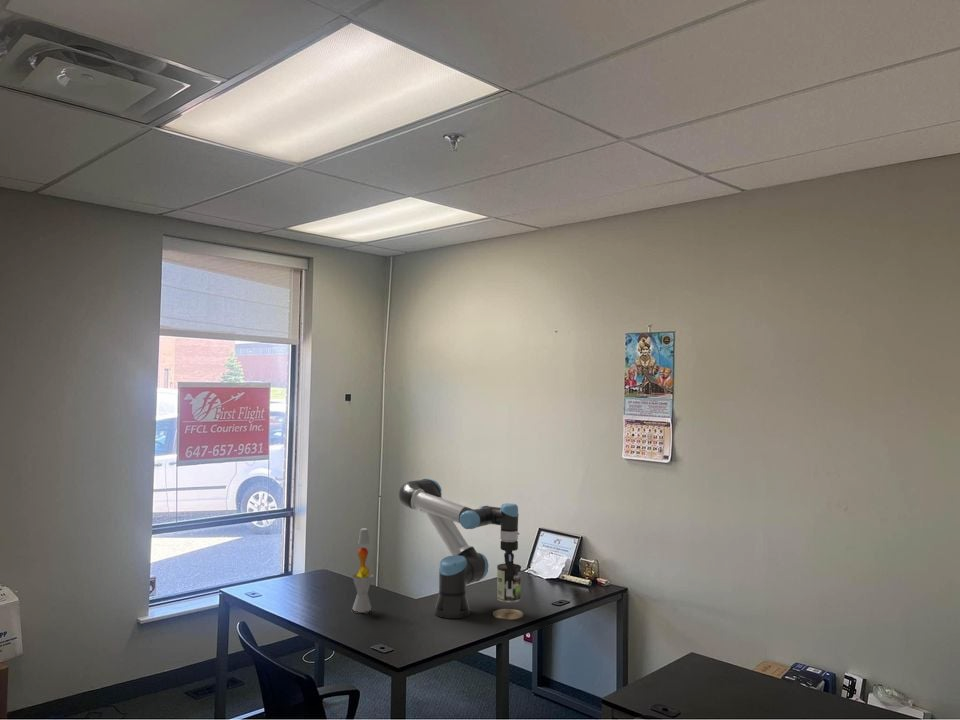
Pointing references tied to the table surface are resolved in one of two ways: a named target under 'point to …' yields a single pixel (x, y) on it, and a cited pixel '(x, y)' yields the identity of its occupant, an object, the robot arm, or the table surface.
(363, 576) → the lava lamp
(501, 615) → the cork mat
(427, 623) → the table surface
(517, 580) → the coffee can
